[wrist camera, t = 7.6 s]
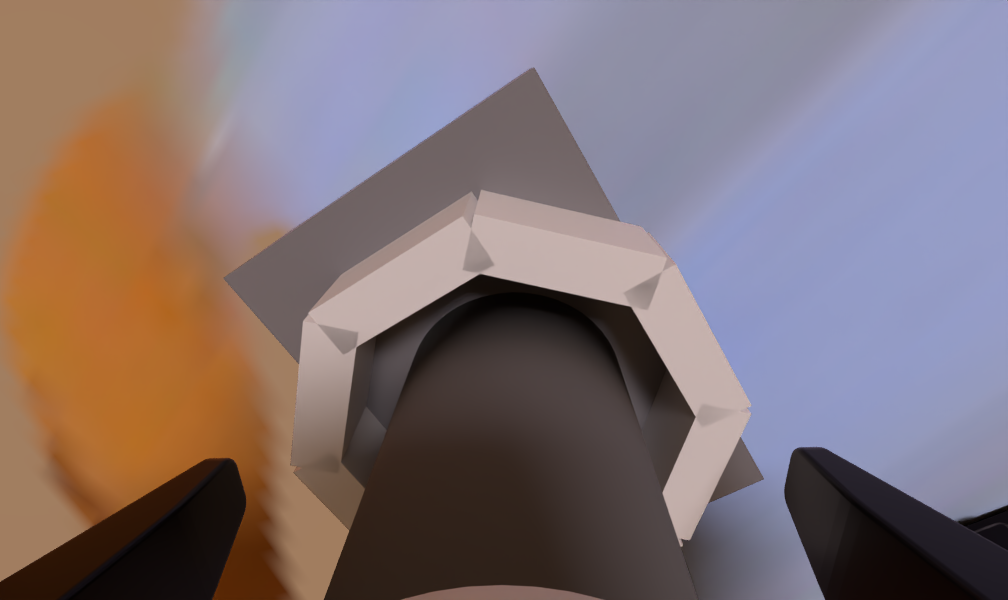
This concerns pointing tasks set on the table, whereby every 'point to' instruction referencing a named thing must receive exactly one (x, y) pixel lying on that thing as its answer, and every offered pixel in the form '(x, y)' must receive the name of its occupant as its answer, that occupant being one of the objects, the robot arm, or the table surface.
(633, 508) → the grey cylinder plug
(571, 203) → the grey block with ring
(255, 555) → the table surface
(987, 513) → the table surface
